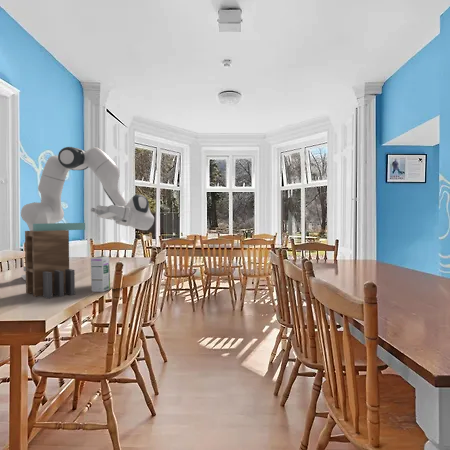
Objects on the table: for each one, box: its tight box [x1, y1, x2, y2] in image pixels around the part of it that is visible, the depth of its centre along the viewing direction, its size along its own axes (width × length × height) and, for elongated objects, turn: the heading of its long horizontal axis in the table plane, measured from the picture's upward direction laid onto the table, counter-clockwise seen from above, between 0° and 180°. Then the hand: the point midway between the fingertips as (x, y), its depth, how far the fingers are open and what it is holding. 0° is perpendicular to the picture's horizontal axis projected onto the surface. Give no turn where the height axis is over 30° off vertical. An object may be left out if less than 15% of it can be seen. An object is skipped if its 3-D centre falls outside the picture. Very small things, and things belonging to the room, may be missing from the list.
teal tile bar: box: [33, 222, 86, 231], centre depth 163 cm, size 3×21×3 cm, turn 136°
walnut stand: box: [24, 230, 70, 297], centre depth 159 cm, size 10×14×26 cm
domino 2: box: [54, 270, 65, 297], centre depth 153 cm, size 2×5×10 cm, turn 46°
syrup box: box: [90, 255, 111, 293], centre depth 163 cm, size 6×6×14 cm
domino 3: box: [65, 268, 76, 296], centre depth 156 cm, size 2×5×10 cm, turn 47°
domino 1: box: [42, 271, 53, 299], centre depth 150 cm, size 2×5×10 cm, turn 46°
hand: (94, 208), depth 177 cm, fingers open, 8 cm apart
